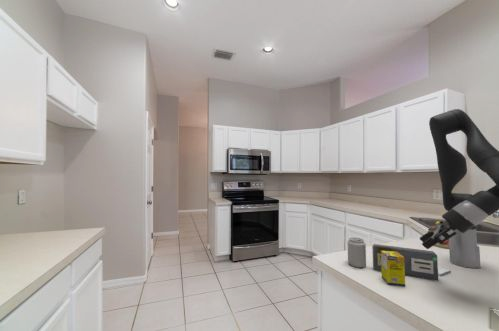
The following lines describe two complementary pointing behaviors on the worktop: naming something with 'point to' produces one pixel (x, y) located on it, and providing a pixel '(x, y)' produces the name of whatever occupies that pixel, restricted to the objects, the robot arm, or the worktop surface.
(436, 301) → the worktop surface
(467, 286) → the worktop surface
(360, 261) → the can
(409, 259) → the panel
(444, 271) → the external hard drive
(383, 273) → the supplement box
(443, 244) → the cake
